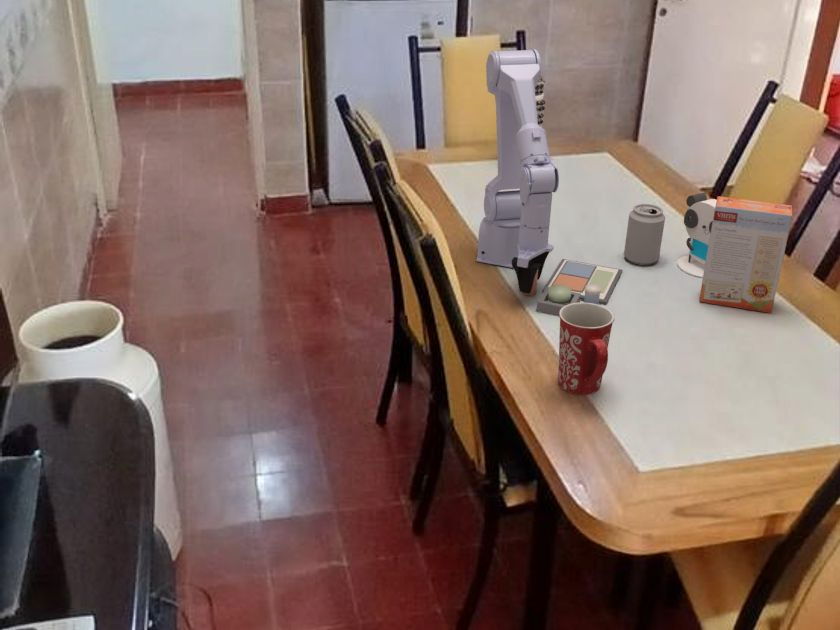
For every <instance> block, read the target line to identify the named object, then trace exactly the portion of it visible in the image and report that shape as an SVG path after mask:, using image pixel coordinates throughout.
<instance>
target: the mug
mask: <svg viewBox="0 0 840 630" xmlns="http://www.w3.org/2000/svg"><path fill="white" fill-rule="evenodd" d="M565 305H566V306H564V307H562V308H561V309H560V311H559V315H558V316H559V344H558V345H559V347H558V372H557V382H558V385H559V387H560V388H562V389H563V390H564V391H565V392H567V393H570V394H574V395H582V396H583V395H590V394H591V395H592V394H594V393H596V392H598V391H599V390H600V389H601V386H602V380H603V375H604V374H605V372H606V369H607V367H608V366H607V365H608V361H609V352H608V351H609V350H608V349H609V343H610V338H611V333H612V327H613V322H614V321H615V314H614V313H613V312H612V311H611V310H610V309H609V308H607V307H606V306H603V305H602V304H599V305H597V304H593V303H584V301H583V302H581V301H580V303H572V304H570V303H569V304H568V303H567V304H565Z"/></svg>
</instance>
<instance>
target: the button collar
mask: <svg viewBox="0 0 840 630" xmlns="http://www.w3.org/2000/svg"><path fill="white" fill-rule="evenodd" d="M548 291H549V287H546V289H545V290H544V292H543V293H542V294H541V295H540V297H539V298H538V300H537V302H536V309H535V311H536V312H539V313H540V312H541V313H545V314H550V315H555V316H559V311H560V309H561V308H562V307H564V306H566V305H567V304H558V303H553V302H550V301H549V300H548ZM580 298H581V293H576V292H571V300H570V302H569V304H572V303H581V300H580Z"/></svg>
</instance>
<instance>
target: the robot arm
mask: <svg viewBox="0 0 840 630" xmlns="http://www.w3.org/2000/svg"><path fill="white" fill-rule="evenodd" d="M486 59H487V60H486V63H485V67H486V68H485V70H486V71H485V72H486V74H485V75H486V87H487V92H488V93H490V94H492V95H494V100H495V116H496V117H495V119H496V120H495V121H496V123H495V124H496V147H497V148H496V152H497V153H496V155H497V175H495V177H494V178H493V179H491V180H490V181H489V182H488V183H487V184H486V186H485V189H484V197H483V211H484V217H483V218H482V220H481V222H480V223H479V224H480V225H479V229H478V236H477V237H478V240H477V243H478V244H477V258H476V259H475V260H476V262H479V263H485V264H490V265H494V266H499V267H500V266H501V267H505V268H510V269H513V270H514V272H515V275H516V280H517V285H518V290H519V293H522V292H523V293H528V294H530V292H531V290H532V287H533V282H534V278H535V275H536V273H537V270H538V276H537V281H539V280H540V279H541V275H542V272H543V269H544V266H545V262H546V260H547V257H548V256H549V253H552V252H553V251H554V248H555V247H554V245H553V244H550V243H549V236H550V235H549V234H550V222H551V215H552V213H551V211H552V202H553V193H557V191H558V189H559V181H560V176H559V170H558V166H557V164H556V162H555V160H554V158H553V157H552V156H550V155H551V154H550V150H549V145H548V139H547V133H546V130H545V129H544V128H543V126H542V127H540V126H539V125H538V119H537V109H536V98H535V87H536V85H537V83H538V80H539V76H541V74H542V59H541V55H540V52H539V51H538V50H537V49H536V48H531V49H521V50H491V51H490V53H488V56H487V57H486ZM502 190H503V191H502ZM523 293H522V294H523Z"/></svg>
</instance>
